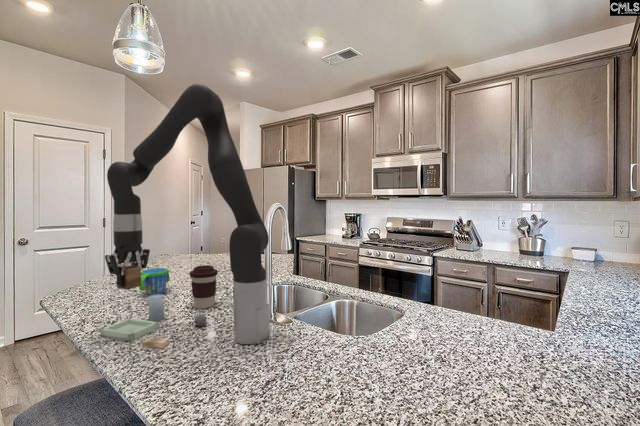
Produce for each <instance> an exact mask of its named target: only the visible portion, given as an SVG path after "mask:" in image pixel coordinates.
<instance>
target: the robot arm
mask: <svg viewBox="0 0 640 426" xmlns="http://www.w3.org/2000/svg"><path fill="white" fill-rule="evenodd" d="M224 107H225V106H224V104H223V101H222V99H221V97H220V96H219V95H218V94H217V93H215V91H213V90H212V89H211V88H209V87H208V85H206V84H202V83H193V84H192V85H190V86H188V87H186V89H185V90H184V91H183V92H182V94H181V95H180V96H179V98H178V99H177V100H176V101H175V103H174V105H173V106H171V108H170V110H169V111H168V112H167V114H166V115H165V116H164V118H163V119H162V120H161V122H160V123H159V124H158V126H157V127H156V128H155V129H154V130H153V131H152V132H151V133H150V134H149V135H148V136H146V138H145V139H144V140H143V141H141V142H140V143H139V145H137V146H136V147H135V148H134V150H132V156H133V157H134V159H133V160H132V161H131V162H124V161H115V162H113V163H111V164H110V166H109V167H108V169H107V174H106V179H107V180H106V181H107V183H108V187H109V190H110V194H111V196H112V199H113V223H112V225H113V227H112V228H113V230H112V231H113V245H114V247H115V249H114V251H113V253H110V254H106V255H104V259H105V262H106V265H107V268H108V272H109V274H110V275H115V276H116V287H117V286H118V287H119V288H124V287H125V269H126V268H127V267H128V266H129V264H130V266H141V272H142V271H143V270H144V269H146V268H147V267H148V262H149V257H150V252H151V249H147V248H143V247H142V244H143V219H142V205H141V204H142V203H141V197H140V196H138V195H137V194H135V193H134V191H133V188H134V187H137V186H140V185H142V184H143V183H144V182H145V181H146V180H148V178H149V176H150V174H151V173H152V171H153V170H154V167H155V166H156V165H157V164H159V162H160V161H162V160H163V159H164V158H165V157H166V156H167V155H168V154H169V153H170V152H171V151H172V149H174V146H175V144H176V142H177V140H178V138H179V136H180V134H181V132H182V131H183V130H184V128H186V126H187V125H189V124H190V123H192V122H193V121H194V120H195V119H197V120H198V121H199V123H200V124H201V127H202V129H203V131H204V135H205V137H206V141H207V163H208V168H209V171H210V175H211V177H212V180H213V183H214V186H215V188H216V189H217V191H218V193H219V194H220V196H221V197H222V198H223V200H224V201H225V202H226V204H227V205H228V207H229V208H230V210H231V212H232V214H233V216H234V219H235V221H236V225H237V226H236V228H234V229H233V231H232V232H231V234H230V236H229V237H230V238H229V247H228V248H229V264H230V270H231V271H230V272H231V273H232V276H233V277H232V279H233V281H232V282H233V335H234V336H233V339H234V342H236V343H237V344H241V345H254V344H256V345H257V344H258V345H260V344H261V343H262V342H263V341H264V340H266V339H267V338H268V337H269V336H270V305H269V303H267V270H266V268H264V267H263V262H262V261H263V260H262V252H264V251H265V250H266V249H267V247H268V246H269V240H270V239H269V233H268V230H267V228H266V226H265V224H264V222H263V219H262V217H261V215H260V213H259V211H258V208H257V206H256V203H255V200H254V197H253V194H252V191H251V188H250V185H249V182H248V179H247V175H246V172H245V170H244V169H245V168H244V167H243V163H242V161H241V158H240V155H239V153H238V151H237V148H236V145H235V142H234V140H233V138H232V136H231V133H230V129H229V124H228V121H227V116H226V112H225V108H224ZM120 269H121V271H120ZM119 288H118V289H119Z"/></svg>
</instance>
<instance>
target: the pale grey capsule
mask: <svg viewBox="0 0 640 426" xmlns="http://www.w3.org/2000/svg"><path fill="white" fill-rule="evenodd" d="M164 296H165V295H164V294H156V295H151V296H148V297H147V298H148V303H147V304H148V321H153V322H162V321H163V320H164V319H165V305H164V303H165V300H164V299H165V298H164ZM161 320H162V321H161Z"/></svg>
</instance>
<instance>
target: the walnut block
mask: <svg viewBox="0 0 640 426" xmlns="http://www.w3.org/2000/svg"><path fill="white" fill-rule="evenodd" d="M120 271H121V269H120ZM141 272H142V271H141V266H132V265H128V267H127V268H126V269H125V287H124V288H119V287H118V286H117V285H116V289H121V290H131V289H135V288H139V286H141Z"/></svg>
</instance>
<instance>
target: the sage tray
mask: <svg viewBox="0 0 640 426" xmlns="http://www.w3.org/2000/svg"><path fill="white" fill-rule="evenodd" d="M159 322H160V321H158V322H153V321H149V320H146V319H139V318H133V317H128V318H126V319H124V320H121V321H118V322H116V323H113V324H111V325H108V326H106V327H103V328H101V329H100V331H99V332H100V334H99V335H100V337H105V338H110V339H114V340H115V339H116V340H120V341H126V342H133V341H136V340H137V339H140V338H141V337H143V336H144V337H145V336H146V335H148V334H150V332H151V333H152V331H153V332H154V330H155V331H157V330H159V329H160V323H159Z"/></svg>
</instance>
